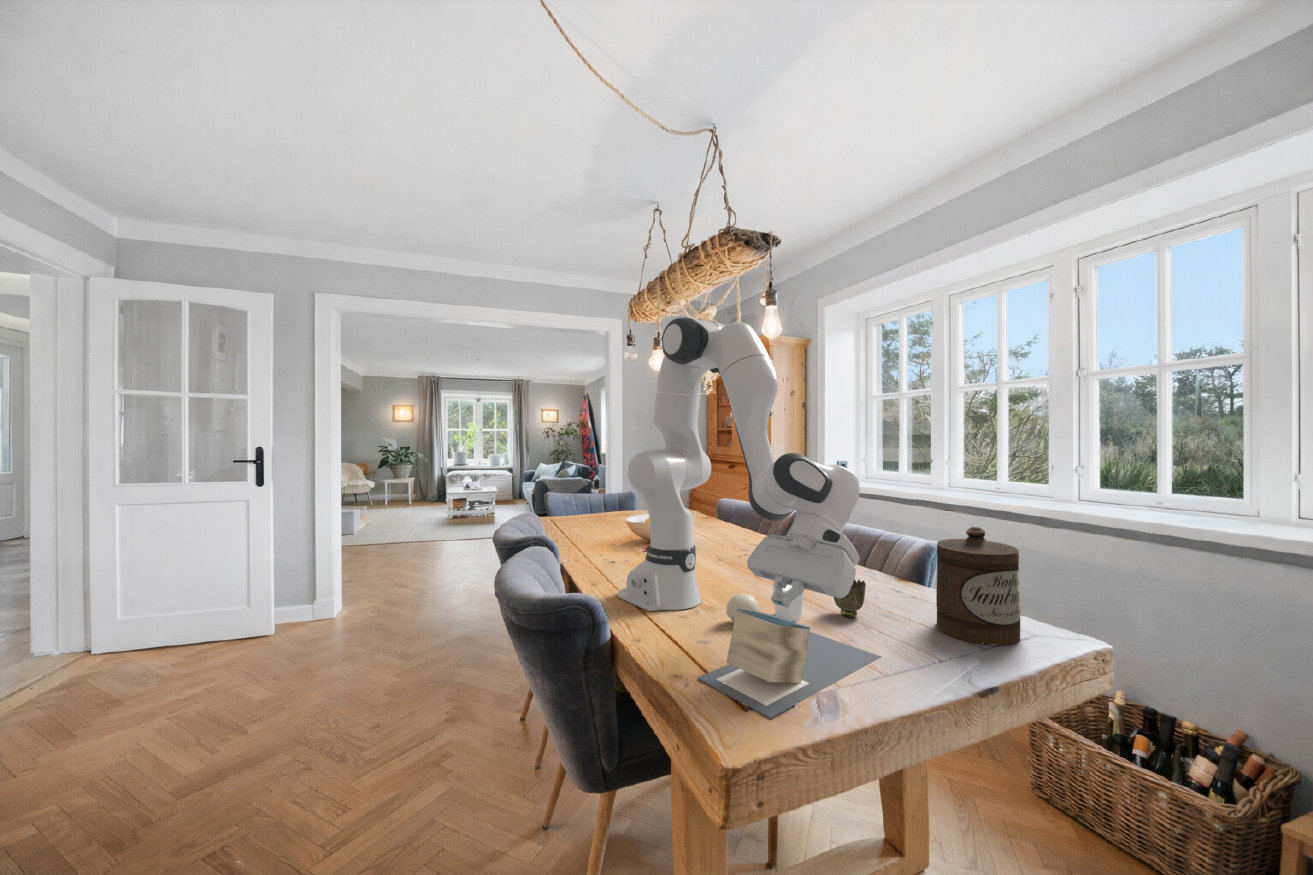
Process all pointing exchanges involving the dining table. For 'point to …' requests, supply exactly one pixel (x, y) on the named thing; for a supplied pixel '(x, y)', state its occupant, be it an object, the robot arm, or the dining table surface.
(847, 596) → the cup
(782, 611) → the white cylindrical piece
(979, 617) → the wooden container
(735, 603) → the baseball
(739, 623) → the maple cube
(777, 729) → the dining table surface
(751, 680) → the charcoal mat
